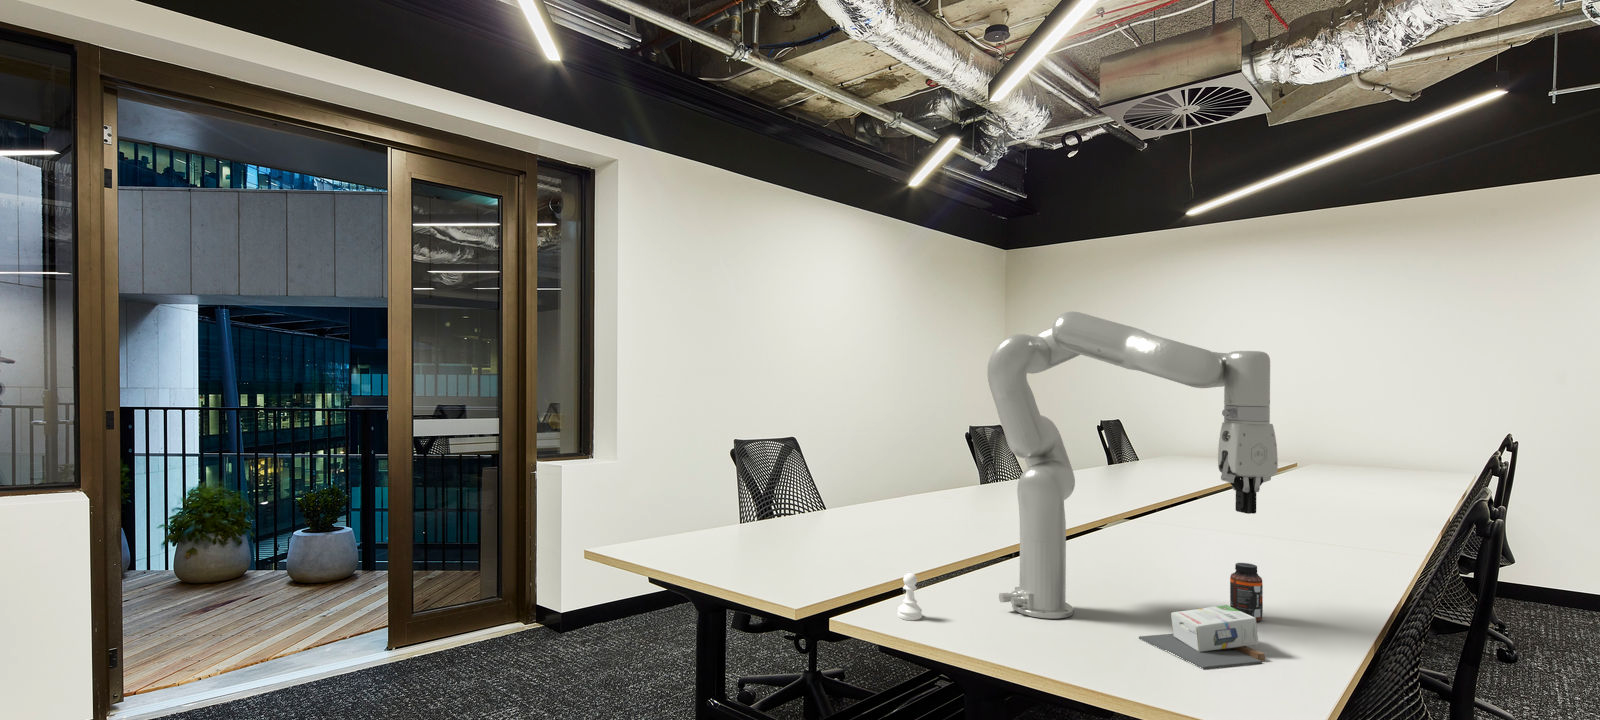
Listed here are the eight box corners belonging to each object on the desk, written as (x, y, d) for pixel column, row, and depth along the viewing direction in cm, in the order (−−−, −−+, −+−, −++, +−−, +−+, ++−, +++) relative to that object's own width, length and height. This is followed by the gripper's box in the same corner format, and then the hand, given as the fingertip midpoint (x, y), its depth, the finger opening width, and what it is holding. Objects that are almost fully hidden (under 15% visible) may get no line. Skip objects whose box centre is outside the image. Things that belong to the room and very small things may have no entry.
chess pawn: (910, 612, 160) (911, 569, 161) (926, 618, 156) (927, 574, 156) (892, 615, 158) (893, 572, 158) (908, 622, 153) (909, 577, 154)
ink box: (1257, 617, 138) (1196, 624, 137) (1259, 646, 138) (1199, 652, 137) (1226, 603, 147) (1169, 609, 146) (1228, 630, 147) (1171, 636, 146)
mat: (1203, 669, 130) (1203, 666, 130) (1138, 638, 146) (1138, 636, 146) (1261, 663, 134) (1261, 661, 134) (1192, 633, 149) (1192, 631, 149)
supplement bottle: (1267, 623, 156) (1267, 568, 157) (1236, 621, 157) (1236, 566, 158) (1256, 615, 162) (1256, 562, 162) (1225, 613, 163) (1225, 560, 164)
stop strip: (1258, 661, 135) (1258, 654, 135) (1197, 635, 148) (1197, 629, 148) (1264, 660, 135) (1264, 653, 135) (1203, 635, 148) (1203, 628, 149)
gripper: (1231, 416, 138) (1230, 517, 138) (1295, 417, 142) (1294, 515, 142) (1199, 414, 145) (1198, 510, 145) (1260, 415, 150) (1260, 508, 149)
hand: (1245, 512), depth 143 cm, fingers closed
